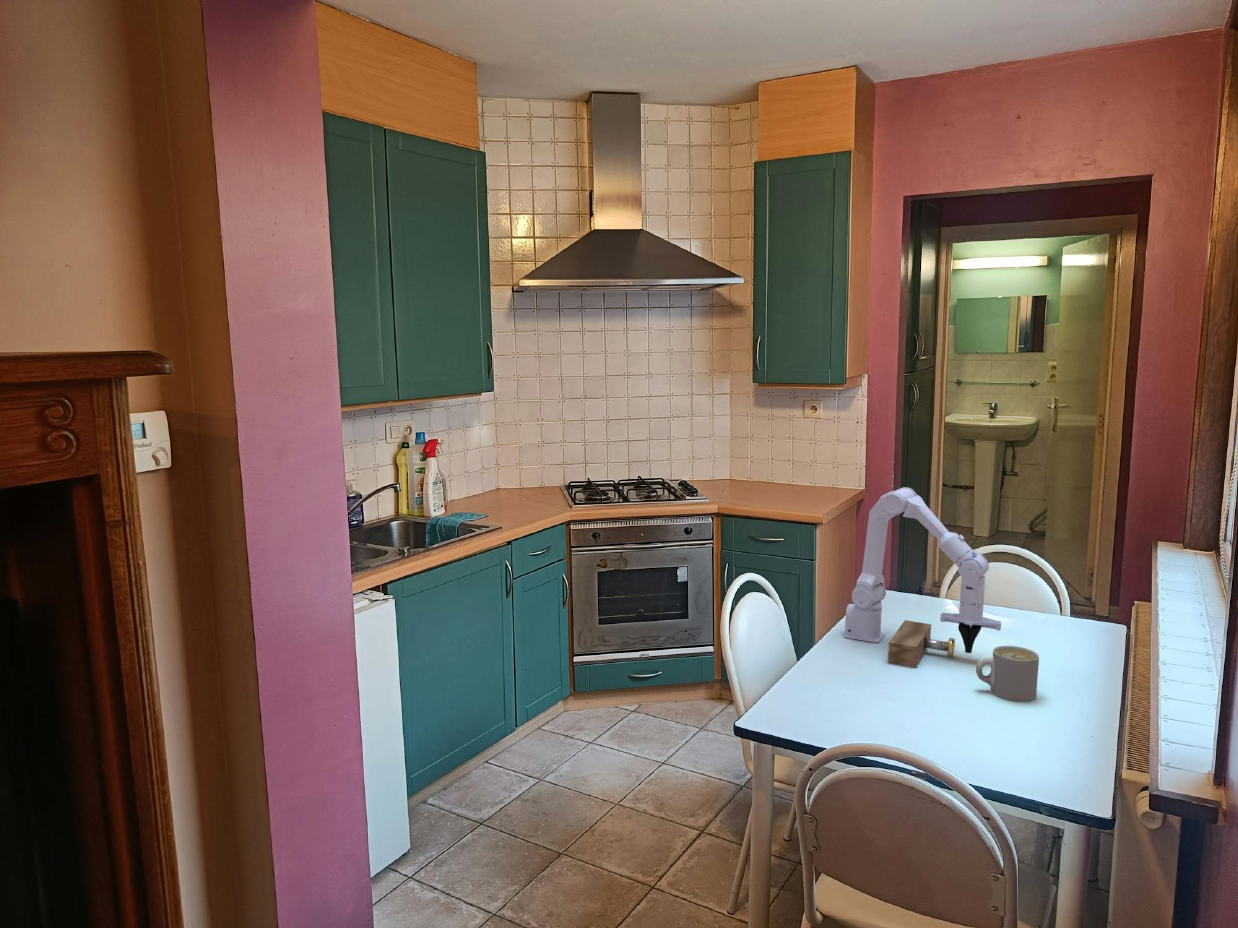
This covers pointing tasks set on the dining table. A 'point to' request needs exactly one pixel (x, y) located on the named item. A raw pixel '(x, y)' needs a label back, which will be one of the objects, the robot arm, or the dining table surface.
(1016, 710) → the dining table surface
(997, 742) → the dining table surface
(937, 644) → the steel pin
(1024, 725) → the dining table surface
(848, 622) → the robot arm
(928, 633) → the drawbar beam
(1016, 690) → the coffee mug
